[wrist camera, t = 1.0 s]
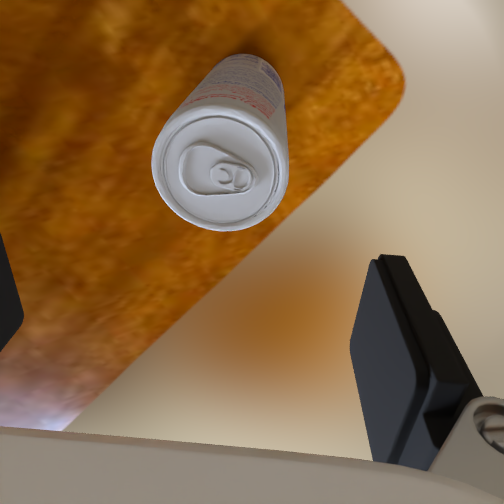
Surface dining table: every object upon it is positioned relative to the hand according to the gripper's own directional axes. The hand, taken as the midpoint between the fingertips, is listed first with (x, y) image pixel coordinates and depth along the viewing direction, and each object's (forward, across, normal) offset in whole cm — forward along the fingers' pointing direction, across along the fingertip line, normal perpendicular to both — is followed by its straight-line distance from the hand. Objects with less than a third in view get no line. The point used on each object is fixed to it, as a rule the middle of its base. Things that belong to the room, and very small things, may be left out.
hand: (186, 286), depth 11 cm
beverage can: (+22, 0, -1) cm, 22 cm away
